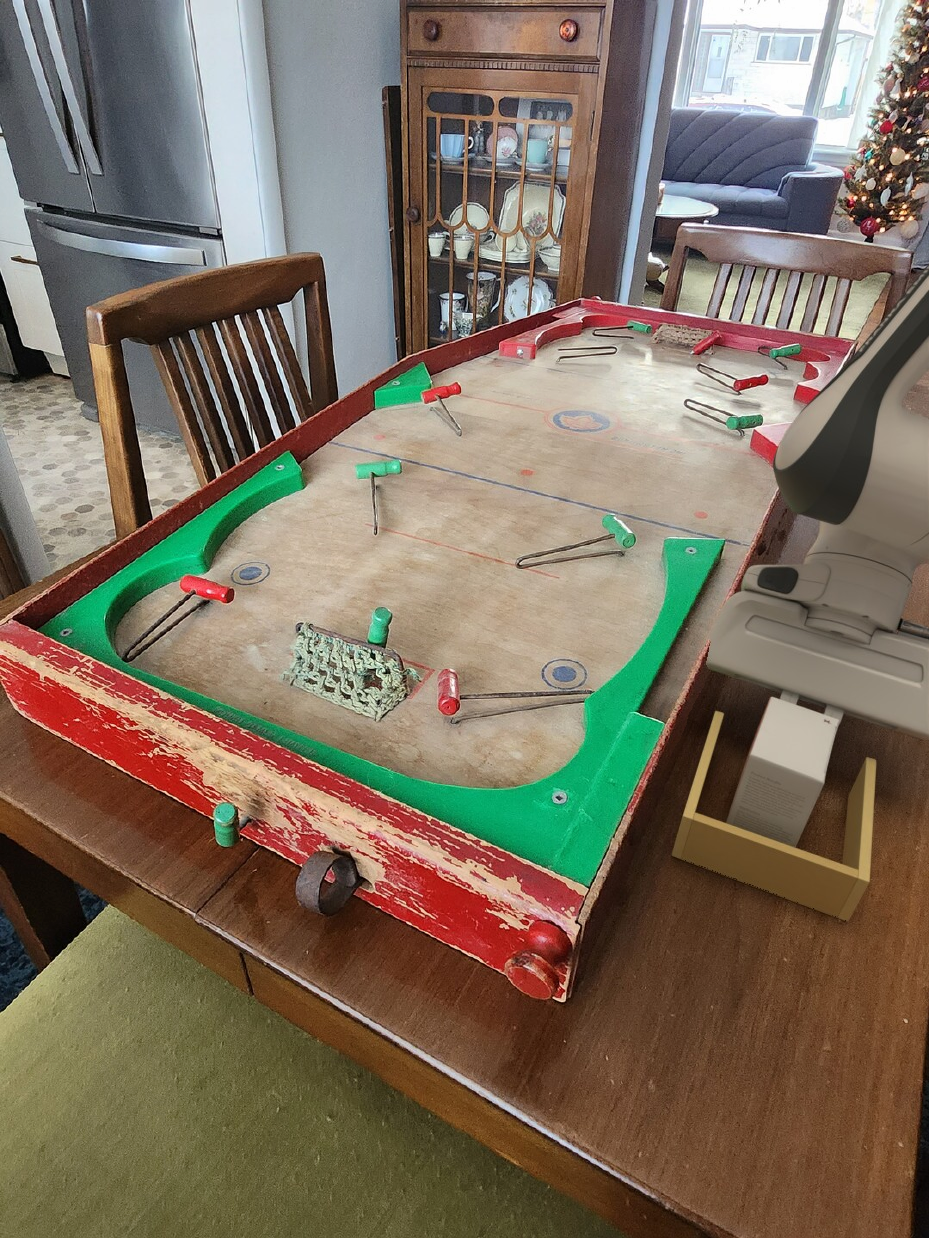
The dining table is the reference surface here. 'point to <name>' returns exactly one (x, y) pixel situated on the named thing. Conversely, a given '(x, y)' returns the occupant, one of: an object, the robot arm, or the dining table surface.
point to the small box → (783, 772)
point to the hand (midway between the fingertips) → (794, 751)
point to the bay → (783, 848)
